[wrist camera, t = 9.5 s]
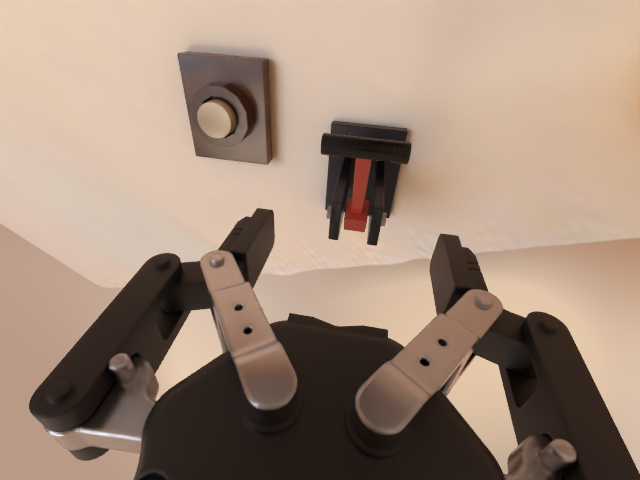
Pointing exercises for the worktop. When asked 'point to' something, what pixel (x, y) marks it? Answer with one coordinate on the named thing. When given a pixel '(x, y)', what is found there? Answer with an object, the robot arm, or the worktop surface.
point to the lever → (363, 168)
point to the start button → (216, 118)
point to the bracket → (378, 180)
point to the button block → (240, 93)
